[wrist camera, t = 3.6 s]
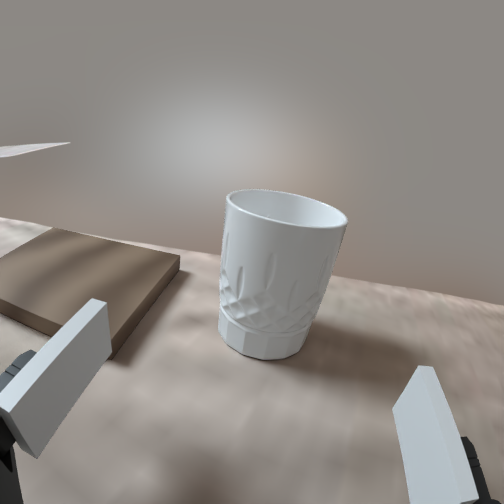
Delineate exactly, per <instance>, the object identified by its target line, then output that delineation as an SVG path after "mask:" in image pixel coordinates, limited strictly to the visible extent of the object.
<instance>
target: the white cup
mask: <svg viewBox="0 0 504 504" xmlns="http://www.w3.org/2000/svg"><path fill="white" fill-rule="evenodd" d="M347 224H348V219H347V217H346V216H345V215H344V214H343V213H342V212H341V211H339V210H337V209H336V208H334V207H332V206H330V205H327V204H325V203H322V202H320V201H317V200H314V199H311V198H307V197H304V196H300V195H296V194H291V193H286V192H280V191H272V190H261V189H246V190H238V191H234V192H232V193H230V194H228V195H227V197H226V208H225V219H224V230H223V242H222V254H221V266H220V291H219V296H220V312H219V324H218V331H219V333H220V334H221V336H222V338H223V339H224V341H225V343H226V344H227V345H229V346H230V347H232V348H233V349H235V350H236V351H238V352H239V353H241V354H243V355H246V356H250V357H254V358H258V359H262V360H272V359H284V358H286V357H288V356H291V355H293V354H295V353H297V352H299V350H300V349H301V347H302V345H303V344H304V342H305V340H306V338H307V335H308V332H309V329H310V327H311V324H312V321H313V320H314V319H315V317H316V314H317V312H318V309H319V306H320V304H321V302H322V299H323V296H324V294H325V291H326V288H327V285H328V282H329V279H330V277H331V273H332V270H333V267H334V264H335V261H336V258H337V255H338V252H339V249H340V246H341V243H342V240H343V236H344V233H345V230H346V227H347Z"/></svg>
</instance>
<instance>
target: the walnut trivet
mask: <svg viewBox="0 0 504 504" xmlns="http://www.w3.org/2000/svg"><path fill="white" fill-rule="evenodd" d="M179 268H180V255H175V254H171V253H166V252H161V251H157V250H152V249H147V248H143V247H138V246H134V245H129V244H125V243H120V242H116V241H111V240H107V239H102V238H98V237H93V236H89V235H84V234H80V233H76V232H71V231H67V230H62V229H58V228H52V229H50V230H48V231H46V232H45V233H43V234H41V235H39V236H37V237H36V238H34V239H32V240H30V241H28V242H27V243H25V244H23V245H21V246H20V247H18V248H16V249H15V250H13V251H11V252H9V253H8V254H6V255H4V256H3V257H1V258H0V313H2V314H4V315H6V316H8V317H10V318H12V319H14V320H16V321H19V322H21V323H23V324H25V325H27V326H29V327H31V328H33V329H36V330H38V331H40V332H42V333H45V334H47V335H49V336H51V337H53V336H54V335H55V334H56V333H57V332H58V331H59V330H60V329H61V328H62V327H63V326H64V325H65V324H66V323H67V322H68V321H69V320H70V319H71V318H72V317H73V316H74V315H75V314H76V313H77V312H78V311H79V310H80V309H81V308H82V307H83V306H84V305H85V304H86V303H87V302H88V301H89V300H90V299H92V298H93V299H97V300H100V301H103V302H106V303H107V310H108V321H109V330H110V339H111V347H112V353H111V354H110V356H109V357H108V359H110V360H112V358H113V357H114V356H115V354H116V353H117V352H118V350H119V349H120V347H121V346H122V345H123V343H124V342H125V341H126V339H127V338H128V336H129V335H130V334H131V332H132V331H133V330H134V328H135V327H136V326H137V324H138V323H139V322H140V320H141V319H142V318H143V316H144V315H145V314H146V312H147V311H148V310H149V308H150V307H151V306H152V304H153V303H154V302H155V300H156V299H157V298H158V296H159V295H160V294H161V293H162V291H163V290H164V289H165V287H166V286H167V285H168V283H169V282H170V281H171V280H172V278H173V277H174V276H175V274H176V273H177V272H178V271H179Z"/></svg>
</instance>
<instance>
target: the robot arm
mask: <svg viewBox="0 0 504 504" xmlns="http://www.w3.org/2000/svg"><path fill="white" fill-rule="evenodd" d="M111 353H112V347H111V339H110V330H109V321H108V310H107V303H106V302H103V301H100V300H97V299H93V298H92V299H90V300H89V301H88V302H87V303H86V304H85V305H84V306H83V307H82V308H81V309H80V310H79V311H78V312H77V313H76V314H75V315H74V316H73V317H72V318H71V319H70V320H69V321H68V322H67V323H66V324H65V325H64V326H63V327H62V328H61V329H60V330H59V331H58V332H57V333H56V334H55V335H54V336H53V337H52V338H51V339H50V340H49V341H48V342H47V343H46V344H45V345H44V346H43V347H42V348H41V349H40V350H39V351H38V352H35V351H33V350H29V351H27V352H25V353H23V354H21V355H19V356H18V357H17V358H16V359H15V361H14V362H13V363H12V365H11V366H9V367H8V368H7V369H6V370H5V372H3V373H2V374H1V375H0V504H24V503H23V499H22V494H21V489H20V484H19V479H18V473H17V467H16V460H15V453H14V449H13V446H12V445H13V444H14V443H15V441H16V442H17V443H18V445H19V446H20V448H21V449H22V450H23V451H25V452H26V453H28V454H30V455H31V456H33V457H35V458H36V459H38V457H39V456H40V454H41V453H42V451H43V450H44V448H45V447H46V445H47V444H48V442H49V441H50V439H51V438H52V436H53V435H54V433H55V432H56V430H57V429H58V427H59V426H60V424H61V423H62V421H63V420H64V418H65V417H66V416H67V414H68V413H69V411H70V410H71V408H72V407H73V406H74V404H75V403H76V401H77V400H78V398H79V397H80V396H81V394H82V393H83V391H84V390H85V389H86V387H87V386H88V384H89V383H90V382H91V380H92V379H93V377H94V376H95V375H96V373H97V372H98V371H99V369H100V368H101V366H102V365H103V364H104V362H105V361H106V360H107V358H108V357H109V356H110V354H111ZM392 410H393V414H394V419H395V423H396V428H397V433H398V437H399V442H400V447H401V452H402V458H403V463H404V468H405V474H406V480H407V486H408V492H409V499H410V504H501V503H500V502H499V501H497V500H494V499H491V498H490V495H489V492H488V488H487V485H486V482H485V478H484V475H483V472H482V469H481V467H480V463H479V460H478V459H477V454H476V451H475V448H474V446H473V444H472V443H471V442H470V441H469V439H468V438H467V437H460V435H459V432H458V429H457V427H456V424H455V421H454V418H453V416H452V413H451V410H450V408H449V405H448V403H447V400H446V397H445V395H444V392H443V390H442V388H441V385H440V383H439V380H438V378H437V375H436V373H435V371H434V368H433V367H429V366H419V365H418V367H417V369H416V370H415V372H414V374H413V376H412V377H411V379H410V381H409V382H408V384H407V386H406V387H405V389H404V391H403V392H402V394H401V396H400V397H399V399H398V400H397V402H396V404H395V405H394V407H393V408H392Z"/></svg>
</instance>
